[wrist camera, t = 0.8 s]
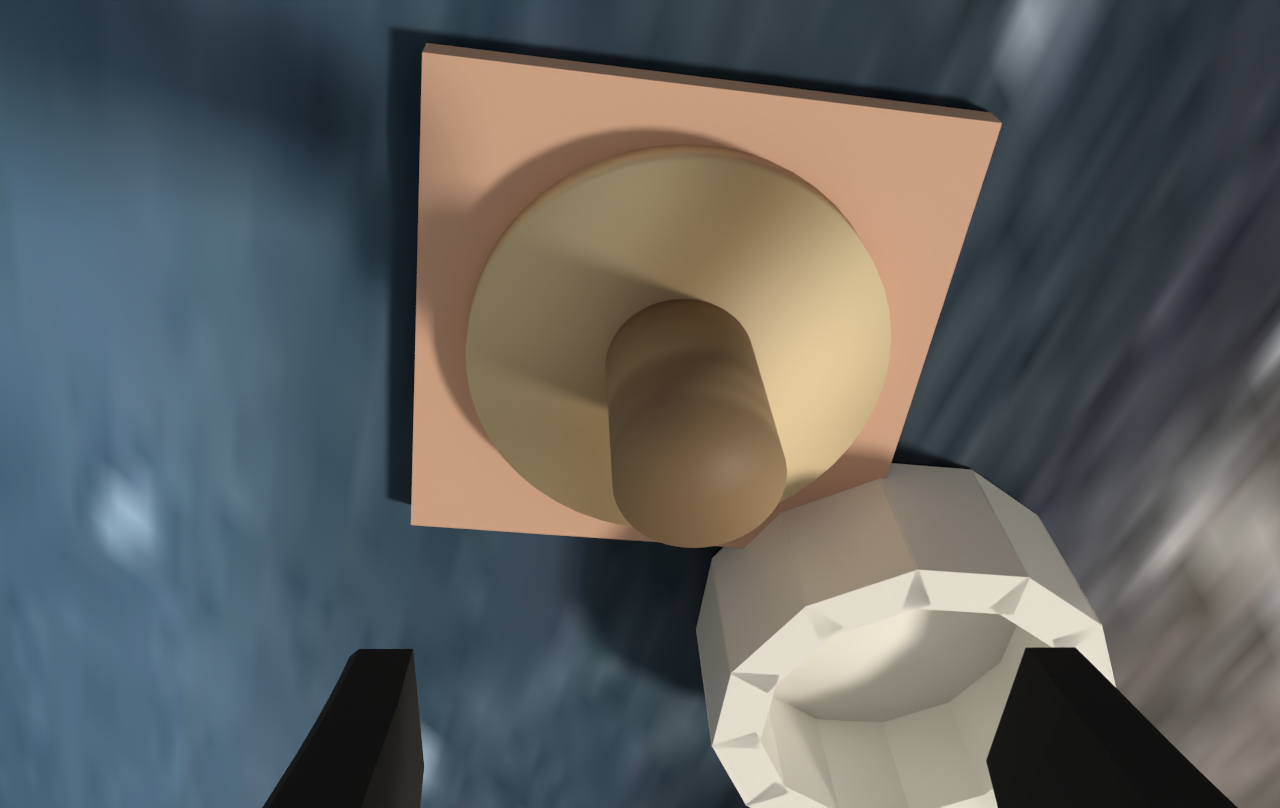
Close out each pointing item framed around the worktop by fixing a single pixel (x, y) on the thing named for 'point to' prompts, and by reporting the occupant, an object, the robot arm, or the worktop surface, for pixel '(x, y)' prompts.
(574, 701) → the worktop surface
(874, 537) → the bowl
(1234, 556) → the worktop surface
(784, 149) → the mat
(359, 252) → the worktop surface
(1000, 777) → the robot arm
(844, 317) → the bamboo lid
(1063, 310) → the worktop surface
